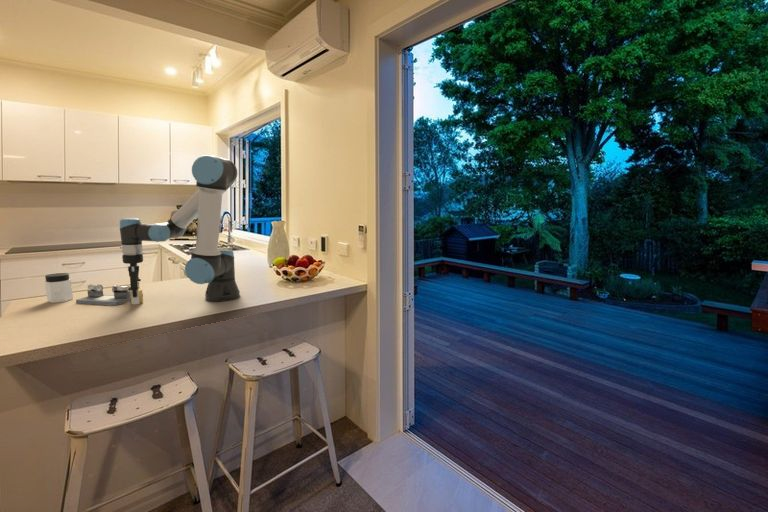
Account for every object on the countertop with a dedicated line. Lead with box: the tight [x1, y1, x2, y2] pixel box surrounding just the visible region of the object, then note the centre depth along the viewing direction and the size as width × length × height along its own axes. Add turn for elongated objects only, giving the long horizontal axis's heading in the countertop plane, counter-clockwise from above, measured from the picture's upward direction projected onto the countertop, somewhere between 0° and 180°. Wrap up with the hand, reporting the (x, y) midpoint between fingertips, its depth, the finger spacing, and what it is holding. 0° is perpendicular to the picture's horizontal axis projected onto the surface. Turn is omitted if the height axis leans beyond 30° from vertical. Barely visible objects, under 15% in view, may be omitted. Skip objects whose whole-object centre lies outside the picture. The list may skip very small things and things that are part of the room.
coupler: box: [130, 288, 144, 306], centre depth 167 cm, size 5×5×6 cm
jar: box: [44, 272, 74, 304], centre depth 169 cm, size 9×8×12 cm
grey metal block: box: [111, 285, 131, 299], centre depth 170 cm, size 6×4×6 cm, turn 97°
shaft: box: [87, 283, 104, 298], centre depth 172 cm, size 6×4×6 cm, turn 67°
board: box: [75, 294, 131, 306], centre depth 169 cm, size 20×10×2 cm, turn 82°
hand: (136, 300), depth 167 cm, fingers open, 13 cm apart
